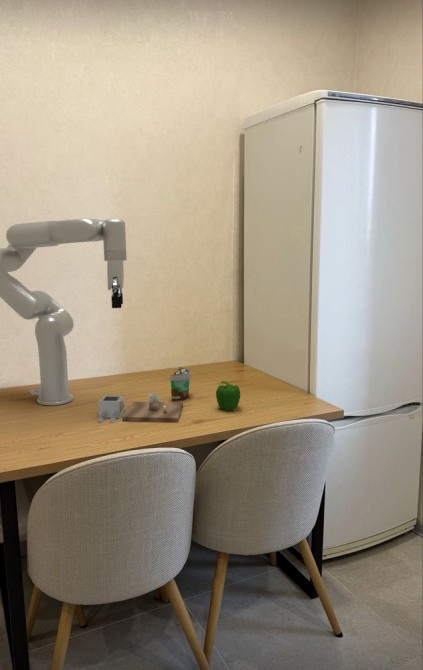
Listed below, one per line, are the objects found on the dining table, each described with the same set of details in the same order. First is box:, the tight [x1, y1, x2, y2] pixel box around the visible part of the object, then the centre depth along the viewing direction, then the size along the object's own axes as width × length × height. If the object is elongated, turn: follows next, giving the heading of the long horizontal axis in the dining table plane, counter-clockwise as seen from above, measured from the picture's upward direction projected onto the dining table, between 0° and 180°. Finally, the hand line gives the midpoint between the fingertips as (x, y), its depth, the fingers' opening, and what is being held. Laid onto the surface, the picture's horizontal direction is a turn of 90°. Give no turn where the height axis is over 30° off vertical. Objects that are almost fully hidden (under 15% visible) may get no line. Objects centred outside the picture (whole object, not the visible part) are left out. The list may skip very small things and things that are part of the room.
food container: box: [169, 366, 192, 402], centre depth 195 cm, size 12×6×10 cm, turn 168°
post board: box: [121, 393, 184, 423], centre depth 177 cm, size 18×16×6 cm
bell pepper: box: [215, 379, 241, 411], centre depth 182 cm, size 8×8×10 cm
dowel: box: [163, 405, 167, 414], centre depth 174 cm, size 1×1×2 cm
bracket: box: [97, 395, 125, 423], centre depth 175 cm, size 11×7×6 cm, turn 177°
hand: (117, 306), depth 183 cm, fingers open, 9 cm apart
